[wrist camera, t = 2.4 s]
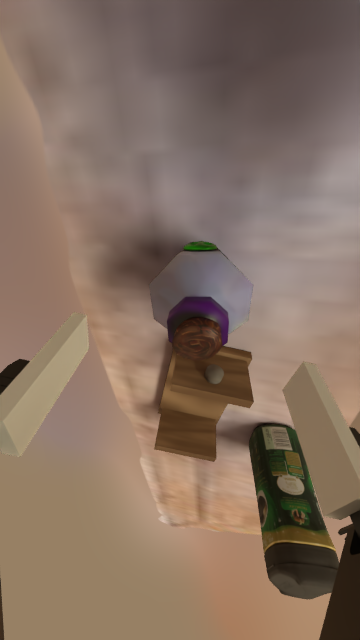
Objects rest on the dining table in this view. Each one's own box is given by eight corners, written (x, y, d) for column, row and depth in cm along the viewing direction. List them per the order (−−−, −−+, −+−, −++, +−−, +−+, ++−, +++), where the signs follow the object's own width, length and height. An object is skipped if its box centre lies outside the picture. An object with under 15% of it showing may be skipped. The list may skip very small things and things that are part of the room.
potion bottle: (228, 209, 20) (244, 257, 11) (254, 289, 25) (283, 375, 15) (147, 248, 23) (101, 313, 14) (182, 313, 27) (167, 398, 18)
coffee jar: (287, 451, 43) (328, 607, 28) (245, 446, 44) (262, 596, 29) (303, 424, 38) (364, 600, 23) (254, 419, 38) (282, 586, 23)
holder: (177, 333, 29) (168, 377, 24) (252, 350, 30) (262, 397, 24) (159, 408, 40) (150, 451, 34) (214, 420, 40) (215, 465, 34)
